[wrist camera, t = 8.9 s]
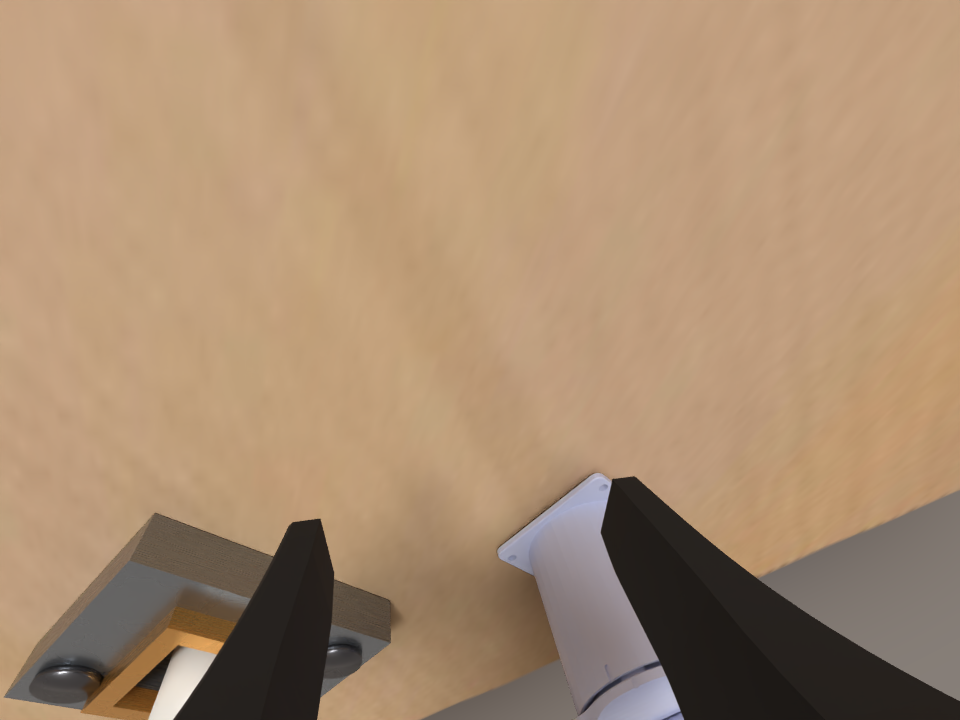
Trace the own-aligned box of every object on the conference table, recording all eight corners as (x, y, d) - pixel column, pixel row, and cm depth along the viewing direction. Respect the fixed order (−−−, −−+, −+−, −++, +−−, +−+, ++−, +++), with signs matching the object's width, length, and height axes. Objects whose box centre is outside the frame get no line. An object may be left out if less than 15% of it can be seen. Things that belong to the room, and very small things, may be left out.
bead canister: (278, 610, 26) (250, 751, 21) (237, 645, 27) (200, 787, 22) (213, 588, 24) (162, 736, 19) (171, 626, 25) (111, 778, 20)
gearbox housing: (390, 600, 28) (390, 661, 25) (275, 694, 31) (263, 758, 28) (154, 513, 21) (117, 582, 18) (37, 643, 24) (-12, 721, 21)
